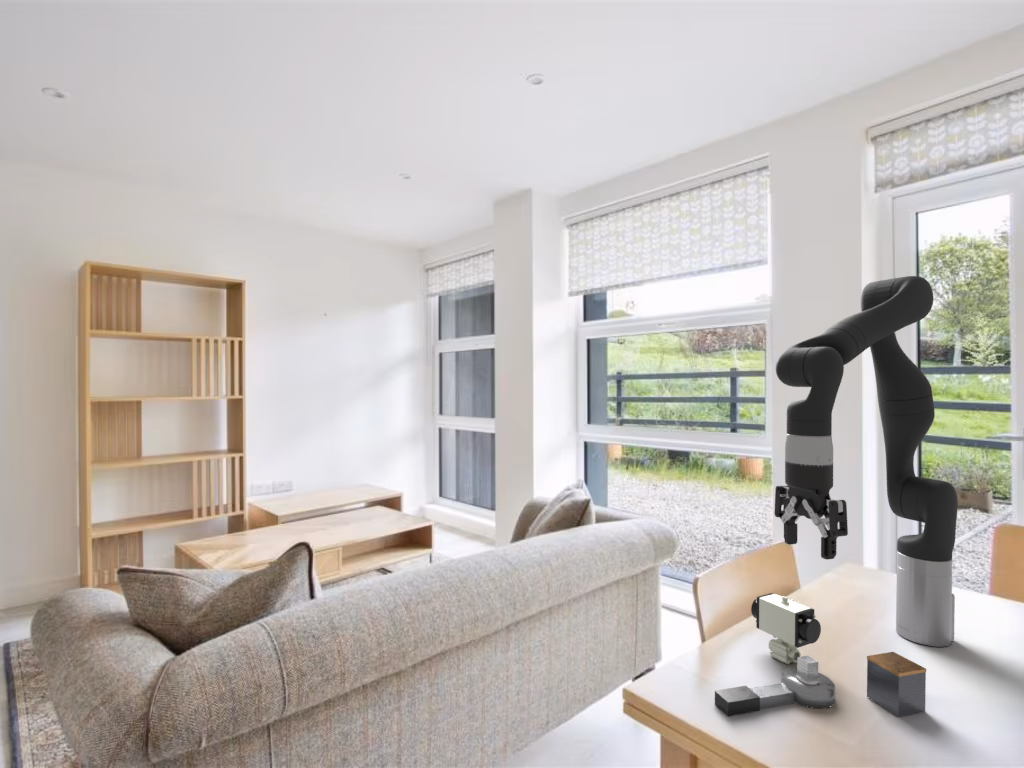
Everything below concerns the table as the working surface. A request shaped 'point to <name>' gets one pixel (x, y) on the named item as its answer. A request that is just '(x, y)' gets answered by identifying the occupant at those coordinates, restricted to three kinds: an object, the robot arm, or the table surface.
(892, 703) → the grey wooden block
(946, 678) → the table surface
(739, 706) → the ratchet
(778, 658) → the pneumatic valve
